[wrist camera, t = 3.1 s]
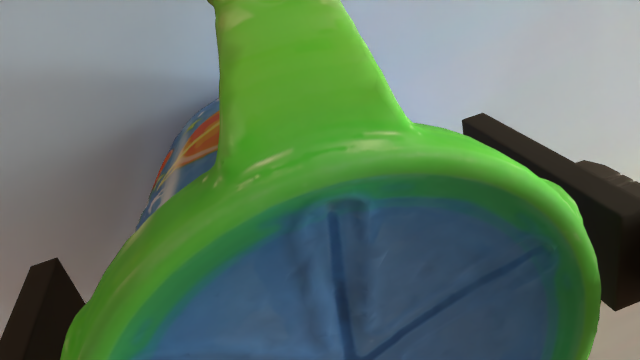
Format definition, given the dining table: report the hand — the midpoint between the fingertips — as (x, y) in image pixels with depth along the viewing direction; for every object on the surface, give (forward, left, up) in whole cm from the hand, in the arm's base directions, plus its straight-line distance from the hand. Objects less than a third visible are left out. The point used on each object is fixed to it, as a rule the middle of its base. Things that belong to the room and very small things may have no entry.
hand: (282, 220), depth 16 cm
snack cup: (0, 0, -3) cm, 3 cm away
